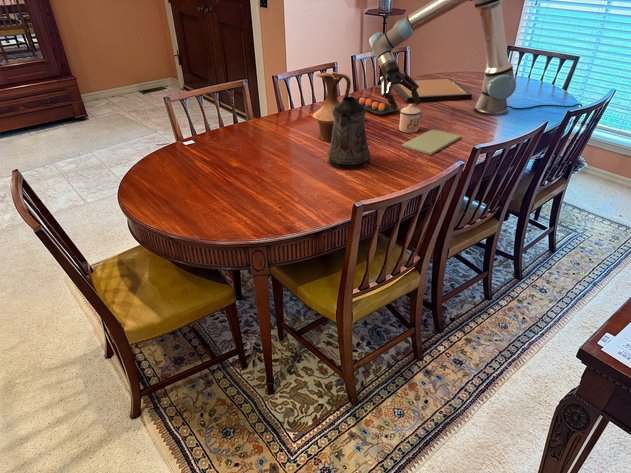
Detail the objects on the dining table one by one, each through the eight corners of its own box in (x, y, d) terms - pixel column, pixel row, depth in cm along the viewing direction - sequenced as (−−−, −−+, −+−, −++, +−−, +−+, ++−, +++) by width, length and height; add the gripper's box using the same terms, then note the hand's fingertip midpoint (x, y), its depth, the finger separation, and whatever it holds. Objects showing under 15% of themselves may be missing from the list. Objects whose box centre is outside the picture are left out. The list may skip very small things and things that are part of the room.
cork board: (391, 85, 261) (406, 103, 232) (392, 80, 260) (407, 97, 230) (449, 82, 263) (471, 99, 234) (449, 77, 262) (472, 94, 232)
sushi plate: (401, 112, 220) (402, 104, 218) (355, 125, 206) (355, 117, 204) (364, 99, 240) (364, 92, 238) (320, 110, 226) (320, 102, 224)
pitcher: (356, 132, 198) (358, 68, 182) (346, 146, 184) (347, 78, 169) (320, 129, 203) (318, 66, 187) (307, 142, 189) (305, 76, 174)
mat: (432, 131, 197) (432, 128, 196) (460, 138, 189) (460, 136, 188) (401, 146, 183) (401, 144, 182) (430, 155, 175) (430, 152, 174)
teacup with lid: (407, 134, 194) (410, 109, 187) (394, 129, 200) (396, 103, 194) (427, 129, 199) (430, 103, 192) (414, 123, 205) (416, 99, 199)
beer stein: (362, 151, 180) (364, 89, 166) (377, 170, 164) (381, 104, 150) (323, 155, 177) (322, 93, 163) (335, 175, 161) (335, 109, 147)
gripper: (405, 66, 208) (423, 105, 205) (363, 74, 197) (381, 115, 195) (413, 56, 201) (432, 97, 198) (370, 64, 191) (389, 106, 188)
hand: (407, 106), depth 197 cm, fingers open, 13 cm apart
